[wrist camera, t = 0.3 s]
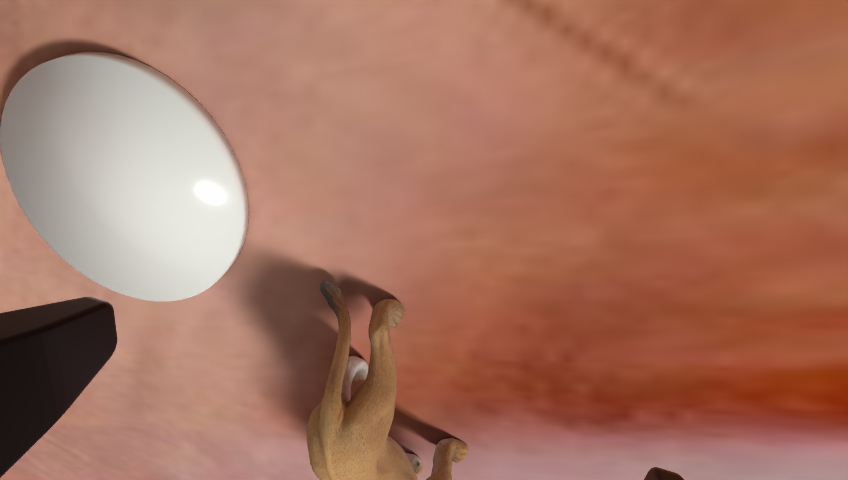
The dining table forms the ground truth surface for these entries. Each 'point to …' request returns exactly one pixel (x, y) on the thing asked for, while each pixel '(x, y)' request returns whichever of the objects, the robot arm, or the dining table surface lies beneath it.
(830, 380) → the dining table surface
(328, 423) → the lion figurine
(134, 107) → the coaster
